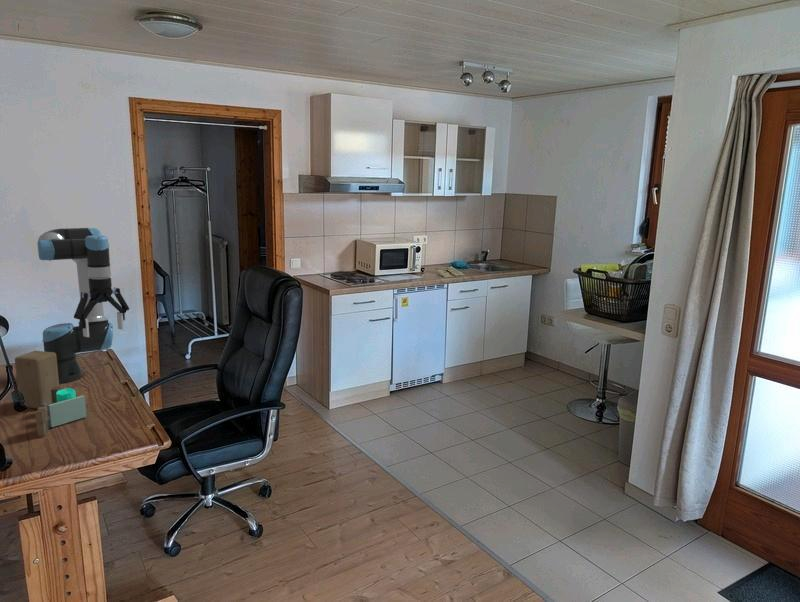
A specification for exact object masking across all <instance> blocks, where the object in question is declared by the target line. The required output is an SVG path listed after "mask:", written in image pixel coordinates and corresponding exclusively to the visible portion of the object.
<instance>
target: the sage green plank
mask: <svg viewBox="0 0 800 602" xmlns="http://www.w3.org/2000/svg"><path fill="white" fill-rule="evenodd" d="M86 405H87V404H86V396H85V395H83V394H82V395H79V396H76V397H75V398H72V399H68V400H65V401H61V402H57V403H54V404H50V405H48V406H47V410H48V420H49V421H50V427H51V428H54V427H57V426H62V425H64V424H67V423H71V422H73V421H77V420H80V419H81V420H82V419H85V418H87V406H86Z"/></svg>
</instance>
